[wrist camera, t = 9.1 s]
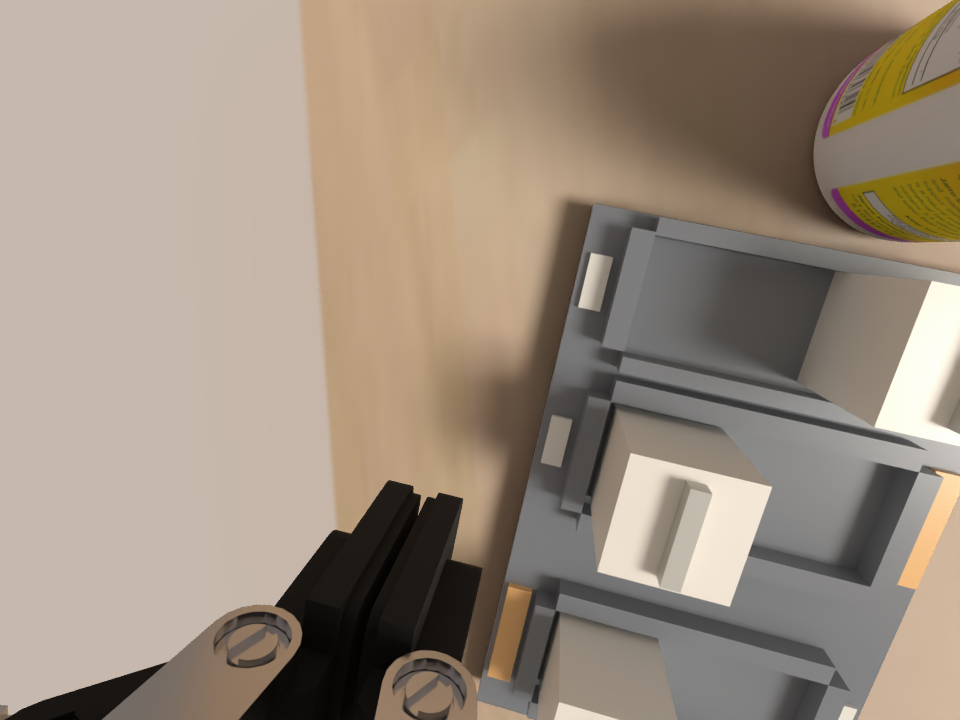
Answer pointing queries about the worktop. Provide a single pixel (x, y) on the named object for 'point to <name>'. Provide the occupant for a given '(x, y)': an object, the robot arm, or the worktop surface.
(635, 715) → the white switch slider block
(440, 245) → the worktop surface
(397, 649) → the robot arm
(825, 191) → the supplement bottle
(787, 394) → the switch board
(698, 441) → the white block with ridge
